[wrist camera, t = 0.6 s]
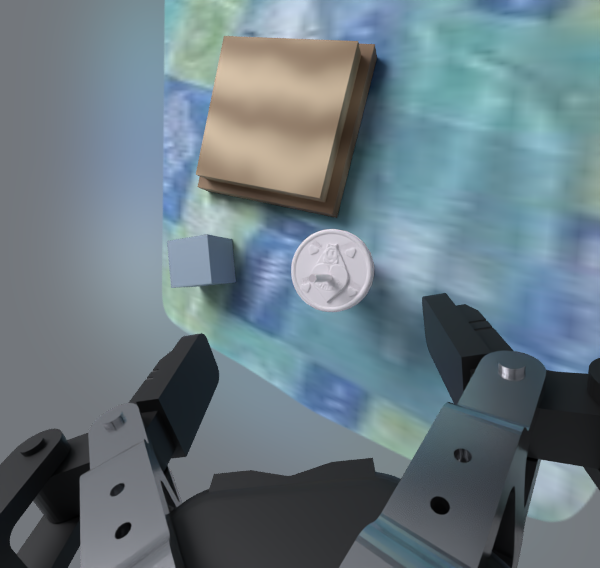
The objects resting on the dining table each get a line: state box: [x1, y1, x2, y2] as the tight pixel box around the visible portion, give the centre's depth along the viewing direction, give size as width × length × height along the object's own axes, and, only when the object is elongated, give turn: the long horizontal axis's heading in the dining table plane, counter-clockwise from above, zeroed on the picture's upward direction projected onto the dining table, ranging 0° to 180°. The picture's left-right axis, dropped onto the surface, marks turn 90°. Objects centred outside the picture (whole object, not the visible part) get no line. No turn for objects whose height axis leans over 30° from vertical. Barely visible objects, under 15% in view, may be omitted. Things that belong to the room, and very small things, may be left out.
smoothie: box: [291, 229, 374, 312], centre depth 28 cm, size 6×6×14 cm
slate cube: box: [167, 235, 236, 288], centre depth 38 cm, size 5×5×5 cm
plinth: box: [196, 36, 377, 218], centre depth 35 cm, size 16×16×4 cm
